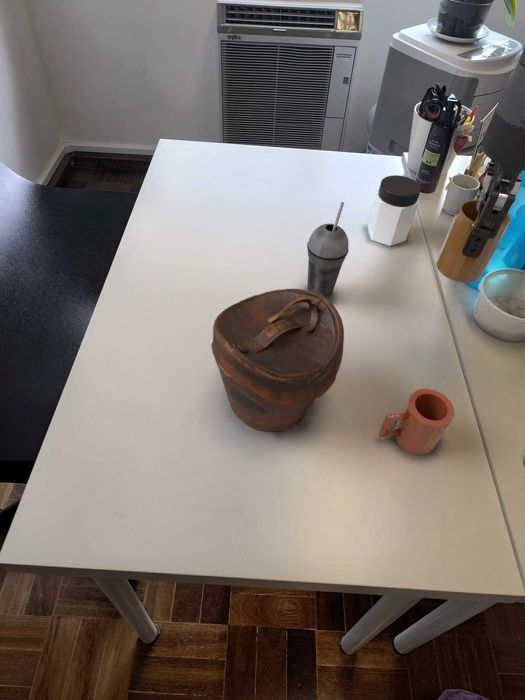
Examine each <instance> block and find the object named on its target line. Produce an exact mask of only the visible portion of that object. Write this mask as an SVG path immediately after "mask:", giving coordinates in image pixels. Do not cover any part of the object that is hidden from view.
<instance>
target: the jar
mask: <svg viewBox="0 0 525 700" xmlns="http://www.w3.org/2000/svg"><path fill="white" fill-rule="evenodd" d="M421 189H422V188H421V185H420V184H419V182H417V181H416V180H415V179H413V178H410V177H408V176H406V175H405V176H404V175H397V174H396V175H395V174H393V175H388V176H385V177H383V178H382V179H381V181H380V184H379V188H378V190H376V193H375V197H374V201H373V204H372V209H371V212H370V216H369V220H368V224H367V232H368V234H369V238H370V241H373V242H377V243H379V244H383V245H386V246H388V247H392V246H396V245H397V244H401V243H403V242H406V240H407V238H408V235H409V232H410V229H411V226H412V224H413V220H414V217H415V214H416V211H417V208H418V206H419V202H418V199H419V197H420V195H421Z"/></svg>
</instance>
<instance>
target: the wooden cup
mask: <svg viewBox="0 0 525 700" xmlns="http://www.w3.org/2000/svg"><path fill="white" fill-rule="evenodd" d="M477 202H478V199H477V198H476V199H473V198H472V199H467V200H464V201H462V202H461V203H460V204H459V205H458V207H457V210H456V212H455V215H454V217H453V219H452V222H451V224H450V226H449V229H448V232H447V234H446V236H445V239H444V240H443V243H442V246H441V248H440V250H439V253H438V255H437V258H436V261H435V266H436V268H437V270H438V271H439V273H440V274H441V275H443V276H444V277H445V278H447V279H449V280H451V281H454V282H457V283H463V284H467V283H474V282H477V281H478V280H479V279H481V277H482V275H483V274H484V272H485V270H486V269H487V267H488V265H489V263H490V261H491V259H492V257H493V255H494V253H495V251H496V249H497V247H498V246H499V244H500V242H501V240H502V238H503V236H504V233H506V230H507V228H508V226H509V225H510V223H511V220H512V219H511V215H510V213H509V212H508V213H507V215H506V217H505V219H504V220H503V222H502V224H501V226H500V228H499V230H498V232H497V235H496V237H494V239H489V238H488V240H487V242H486V244H485V246H484V248H483V250H482V252H481V254H480V256H479V257H478V258H472V257H468V256H464V255H463V254H462V249H463V247H464V245H465V243H466V240H467V238H468V236H469V234H470V232H471V229H472V228H471V226H472V224H474V221H475V219H476V216H477V213H478V212H477V211H476V209H475V207H476V204H477ZM483 204H484V205H485V204H486V201H484V202H483ZM483 223H485V224H489V225H491V223H492V222H490V221H484V222H483Z"/></svg>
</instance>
